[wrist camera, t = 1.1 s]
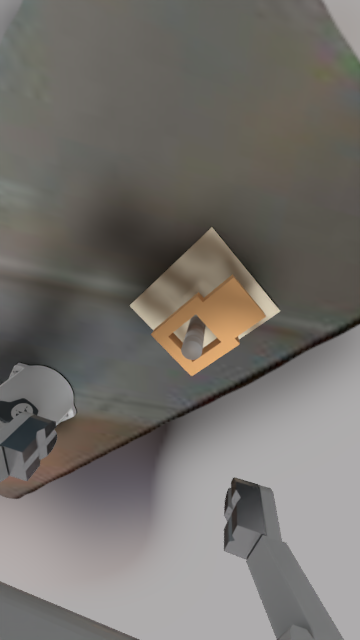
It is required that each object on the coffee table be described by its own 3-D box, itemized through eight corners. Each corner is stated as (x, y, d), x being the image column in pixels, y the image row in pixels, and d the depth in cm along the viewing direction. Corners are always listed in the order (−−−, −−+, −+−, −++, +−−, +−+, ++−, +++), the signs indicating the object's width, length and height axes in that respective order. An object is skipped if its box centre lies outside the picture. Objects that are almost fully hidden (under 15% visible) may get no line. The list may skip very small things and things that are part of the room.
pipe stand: (193, 366, 46) (180, 435, 30) (132, 303, 43) (83, 343, 27) (278, 308, 39) (318, 359, 23) (212, 227, 36) (207, 223, 20)
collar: (193, 368, 32) (191, 376, 30) (155, 328, 31) (151, 334, 29) (267, 316, 28) (271, 322, 26) (227, 267, 26) (227, 270, 24)
